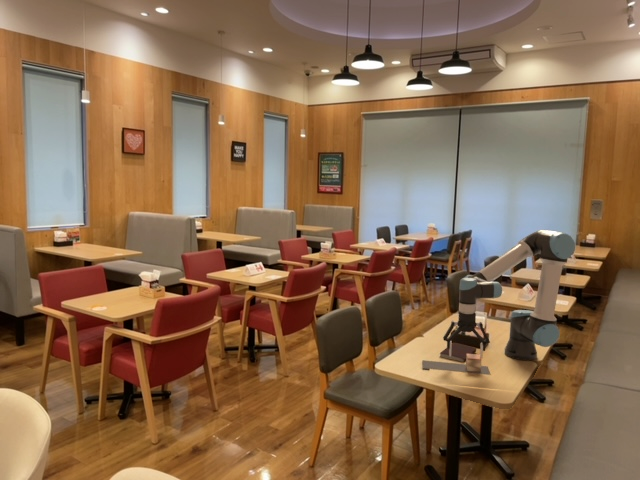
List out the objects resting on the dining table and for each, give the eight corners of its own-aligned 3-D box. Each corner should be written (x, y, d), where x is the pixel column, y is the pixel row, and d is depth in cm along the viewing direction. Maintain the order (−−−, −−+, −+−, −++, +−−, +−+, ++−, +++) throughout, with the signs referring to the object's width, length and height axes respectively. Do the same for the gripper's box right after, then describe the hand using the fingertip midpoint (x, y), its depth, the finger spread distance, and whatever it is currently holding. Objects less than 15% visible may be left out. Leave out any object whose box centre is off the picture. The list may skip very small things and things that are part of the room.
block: (479, 366, 223) (479, 354, 222) (481, 371, 217) (481, 359, 216) (465, 365, 224) (466, 353, 223) (467, 370, 218) (467, 358, 217)
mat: (487, 367, 224) (487, 366, 224) (490, 375, 214) (490, 374, 214) (422, 361, 230) (422, 360, 230) (422, 369, 220) (422, 368, 220)
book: (476, 353, 244) (476, 347, 244) (463, 364, 229) (464, 357, 228) (452, 348, 251) (452, 342, 251) (438, 358, 236) (439, 352, 235)
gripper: (494, 311, 219) (492, 355, 222) (438, 308, 224) (437, 351, 226) (497, 315, 212) (495, 361, 214) (439, 312, 217) (438, 357, 219)
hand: (465, 356), depth 220 cm, fingers open, 13 cm apart
